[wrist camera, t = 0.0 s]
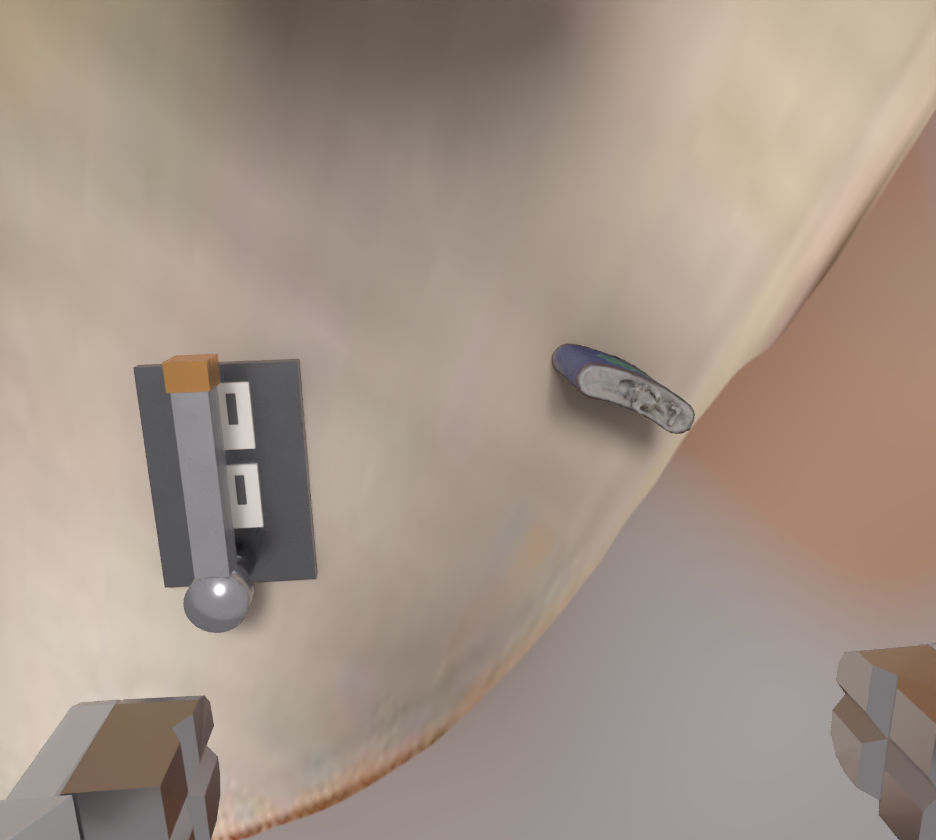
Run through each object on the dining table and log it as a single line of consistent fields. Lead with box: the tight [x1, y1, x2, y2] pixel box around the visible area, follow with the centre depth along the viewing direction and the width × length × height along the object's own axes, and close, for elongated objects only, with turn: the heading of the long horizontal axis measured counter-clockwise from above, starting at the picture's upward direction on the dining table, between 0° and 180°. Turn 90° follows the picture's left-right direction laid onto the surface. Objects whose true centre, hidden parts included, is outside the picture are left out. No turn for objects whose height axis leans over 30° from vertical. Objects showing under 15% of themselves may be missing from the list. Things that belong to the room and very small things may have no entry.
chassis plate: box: [133, 359, 317, 587], centre depth 57 cm, size 18×12×1 cm, turn 1°
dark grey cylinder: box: [235, 544, 256, 576], centre depth 56 cm, size 3×3×4 cm
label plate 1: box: [217, 382, 256, 450], centre depth 55 cm, size 5×5×1 cm
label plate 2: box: [226, 463, 264, 528], centre depth 57 cm, size 5×5×1 cm
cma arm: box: [162, 354, 254, 633], centre depth 51 cm, size 20×4×3 cm, turn 1°
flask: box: [552, 344, 695, 434], centre depth 53 cm, size 9×3×11 cm, turn 66°
